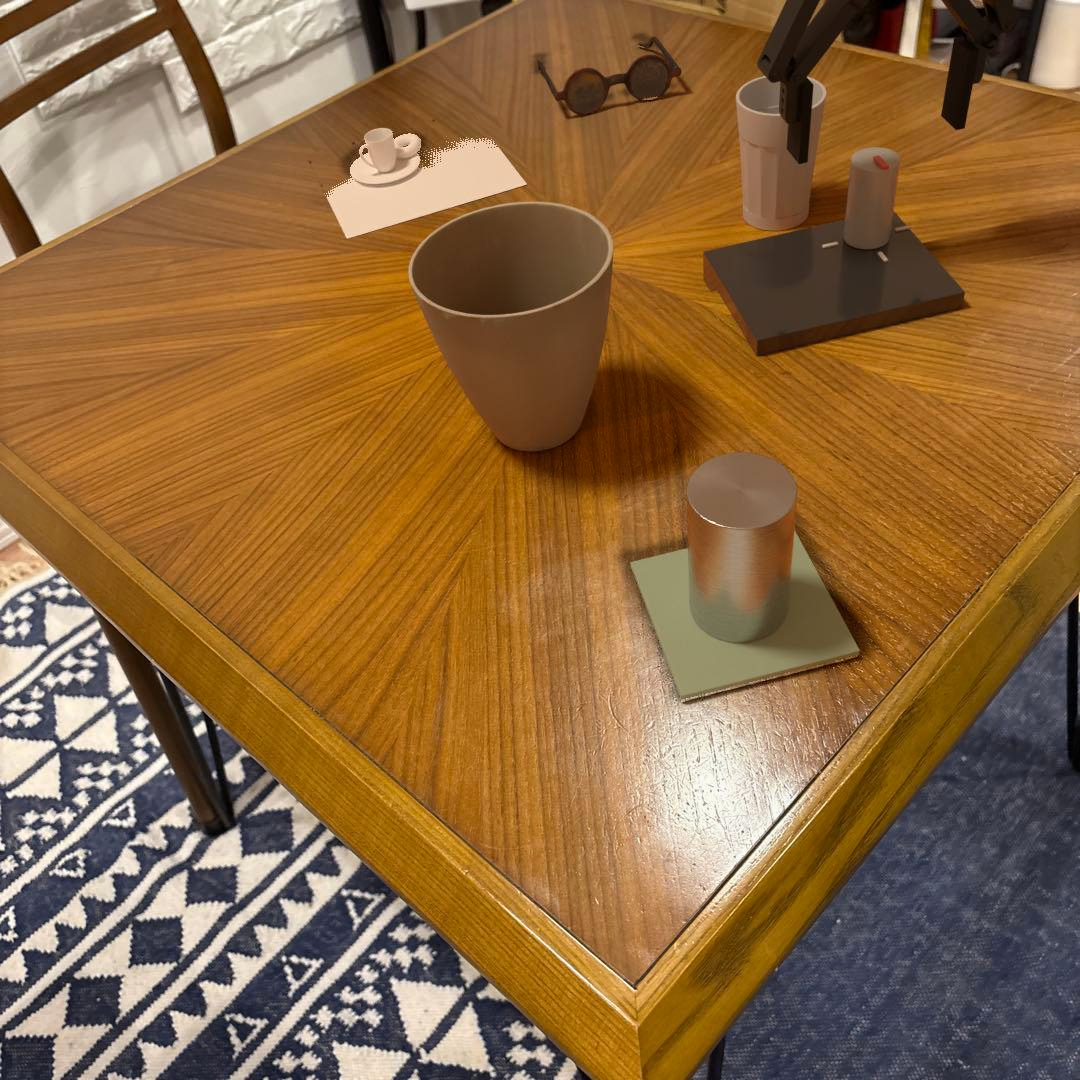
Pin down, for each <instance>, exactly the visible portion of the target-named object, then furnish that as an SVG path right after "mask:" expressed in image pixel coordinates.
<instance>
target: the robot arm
mask: <svg viewBox="0 0 1080 1080" xmlns="http://www.w3.org/2000/svg"><path fill="white" fill-rule="evenodd" d="M940 1H941V2H942V3H943V5H944V6H945V8H946V9H947V10H948V12H949V13H950V15H952V17H953V19H954V20H955V21H956V22H957V24H958V25H959V27H960V28H961V30H963V32H964V33H965V34H966V37H965V36H957V37H954V38H953V43H952V48H951V53H950V59H949V66H948V70H947V71H948V72H947V78H946V83H945V90H944V95H943V100H942V101H943V102H942V106H941V107H942V108H941V113H940V116H941V117H942V118H943V119H944V120H945V122H947V123H948V125H950V126H951V127H952V128H953V129H954V130H955V131H959V130H963V129H964V130H965V128H966V124H967V119H968V113H969V107H970V102H971V96H972V91H973V86H974V85H975V84H979V83H980V82H981V80H982V79H983V77H984V73H985V66H986V62H987V56H988V52H990V51H992V50H994V49H995V48H996V47H997V46H998V44H999V43H1000V38H999V36H1000V35H1002V34H1006V35H1009V34H1012V32H1014V31H1015V29H1016V28H1017V26H1018V19H1017V15H1016V12H1015V8H1014V5H1013V1H1012V0H981V3H982V5H983V9H984V12H985V16H982V14H980V12H979V10H978V9H977V8H976V6H975V5H974V4H973V3H972V0H940ZM820 2H821V0H785V2H784V4H783V6H782V9H781V10H780V13H779V15H778V16H777V19H776V21H775V23H774V25H773V28H772V30H771V32H770V34H769V36H768V37H767V40H766V43H765V44H764V46H763V49H762V51H761V52H760V55H759V57H758V59H757V61H756V62H757V63H756V66H757V68H758V69H759V71H760V73H762V75H763V76H765V77H766V78H767V79H768V80H769V81H770V82H771V83H776V82H780V97H779V98H780V99H779V113H780V115H781V117H782V118H783V120H784V121H785V122H786V123H787V124H788V135H787V150H788V151H789V153H790V154H791V155H792V156H793V158H794V159H795V160H796V161H797V163H798V164H803V163H807V162H808V151H809V138H810V125H811V112H812V99H813V87H814V85H813V84H812V82H811V81H810V80H809V79H808V78H807V77H809V75H810V74H811V72H812V71H813V70H814V69H815V67H816V66H817V65H818V63H819V62H820V61H821V60H822V58H823V57H824V56H825V54H826V53H827V51H828V50H829V49H830V47H831V46H832V45H833V44H834V42H835V41H837V38H838V37H839V35H840V34H841V33H842V32H843V30H845V28H846V27H847V25H848V24H849V23H850V21H851V20H852V19H853V18H854V16H855V15H856V14H857V12H859V11H861V10H863V9H865V8H866V6H867V5H869V3H870V2H871V0H825V2H824V3H823V5H821V7H820V8H819V9H818V11H817V12H816V10H817V8H818V5H819V3H820ZM815 12H816V14H815ZM814 14H815V15H814ZM813 15H814V16H813Z"/></svg>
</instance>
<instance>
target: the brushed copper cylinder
mask: <svg viewBox="0 0 1080 1080" xmlns="http://www.w3.org/2000/svg"><path fill="white" fill-rule="evenodd" d="M685 494H686V531H687V548H688V575H689V607H690V612H691V615H692V617H693V619H694V621H695V622H696V624H697V625H698V626H699V627H700V628H701V629H702V630H703V631H705V632H706V633H707V634H709V635H711V636H713V637H715V638H717V639H720V640H723V641H727V642H733V643H747V642H753V641H757V640H760V639H763V638H765V637H767V636H769V635H771V634H772V633H774V632H775V631H776V630H777V629H778V628H779V627H780V626H781V625H782V623H783V622H784V620H785V618H786V616H787V613H788V605H789V593H790V580H791V567H792V555H793V542H794V529H795V527H796V515H797V504H798V503H797V502H798V486H797V482H796V480H795V478H794V475H793V474H792V472H790V471H789V469H788V468H787V467H785V465H783V464H782V463H780V462H779V461H777V460H775V459H774V458H772V457H769V456H766V455H763V454H759V453H754V452H743V451H741V452H740V451H739V452H729V453H723V454H721V455H717V456H715V457H712V458H710V459H708V460H706V461H704V462H703V463H701V464H700V465H699V466H697V467H696V468H695V470H694V471H693V472H692V474H691V475H690V477H689V478H688V481H687V484H686V492H685ZM795 530H796V529H795Z"/></svg>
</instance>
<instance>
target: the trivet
mask: <svg viewBox="0 0 1080 1080" xmlns="http://www.w3.org/2000/svg"><path fill="white" fill-rule="evenodd" d="M629 566H630V570H631V569H632V572H633V574H634V577H635V579H634V581H635V580H636V582H637V585H638V587H637V589H638V588H639V590H640V593H641V595H642V598H643V601H644V603H645V606H646V608H645V610H646V609H647V611H648V614H649V616H650V619H651V622H652V624H653V627H654V630H655V632H656V635H657V637H658V640H659V643H660V645H661V648H662V651H663V653H664V656H665V659H666V661H667V664H668V666H669V669H670V672H671V674H672V677H673V680H674V682H675V685H676V687H677V690H678V693H679V695H680V698H681V699H686V698H690V697H694V696H698V695H702V694H706V693H710V692H714V691H718V690H722V689H726V688H729V687H733V686H737V685H741V684H745V683H749V682H753V681H757V680H761V679H765V678H769V677H773V676H776V675H780V674H784V673H788V672H792V671H796V670H800V669H804V668H808V667H812V666H816V665H820V664H824V663H827V662H831V661H835V660H839V659H843V658H847V657H851V656H855V655H859V656H860V651H861V650H860V648H859V646H858V644H857V642H856V641H855V639H854V636H853V635H852V633H851V632H850V630H849V628H848V626H847V624H846V622H845V620H844V619H843V617H842V615H841V613H840V611H839V609H838V608H837V606H836V604H835V602H834V600H833V598H832V596H831V594H830V592H829V590H828V589H827V587H826V585H825V583H824V581H823V580H822V578H821V575H820V574H819V572H818V570H817V568H816V566H815V564H814V563H813V561H812V559H811V557H810V555H809V553H808V551H807V550H806V547H805V546H804V544H803V542H802V541H801V539H800V537H799V535H798V533H797V531H796V529H794V542H793V555H792V567H791V580H790V593H789V605H788V613H787V616H786V618H785V620H784V622H783V623H782V625H781V626H780V627H779V628H778V629H777V630H776V631H775V632H774V633H772V634H771V635H769V636H767V637H765V638H763V639H760V640H757V641H753V642H747V643H733V642H727V641H723V640H720V639H717V638H715V637H713V636H711V635H709V634H707V633H706V632H705V631H703V630H702V629H701V628H700V627H699V626H698V625H697V624H696V622H695V621H694V619H693V617H692V615H691V612H690V607H689V575H688V547H685V548H682V549H679V550H675V551H670V552H666V553H662V554H658V555H654V556H650V557H645V558H642V559H638V560H634V561H631V562H629ZM632 572H631V573H632ZM633 574H632V575H633ZM634 577H633V578H634ZM636 582H635V583H636ZM637 585H636V586H637ZM639 590H638V591H639ZM640 593H639V594H640ZM641 595H640V596H641ZM642 598H641V599H642ZM643 601H642V602H643ZM644 603H643V604H644ZM645 606H644V607H645ZM647 611H646V612H647ZM648 614H647V615H648ZM649 616H648V617H649ZM650 619H649V620H650ZM651 622H650V623H651ZM652 624H651V625H652ZM653 627H652V628H653ZM654 630H653V631H654ZM655 632H654V633H655ZM656 635H655V636H656ZM657 637H656V638H657ZM658 640H657V641H658ZM659 643H658V644H659ZM660 645H659V646H660ZM661 648H660V649H661ZM662 651H661V652H662ZM663 653H662V654H663ZM664 656H663V657H664ZM665 659H664V660H665ZM666 661H665V662H666ZM667 664H666V665H667ZM668 666H667V667H668ZM669 669H668V670H669ZM670 672H669V673H670ZM671 674H670V675H671ZM672 677H671V678H672ZM673 680H672V681H673ZM674 682H673V683H674ZM675 685H674V686H675ZM676 687H675V688H676ZM677 690H676V691H677ZM678 693H677V694H678ZM679 695H678V696H679ZM680 698H679V699H680Z"/></svg>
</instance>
